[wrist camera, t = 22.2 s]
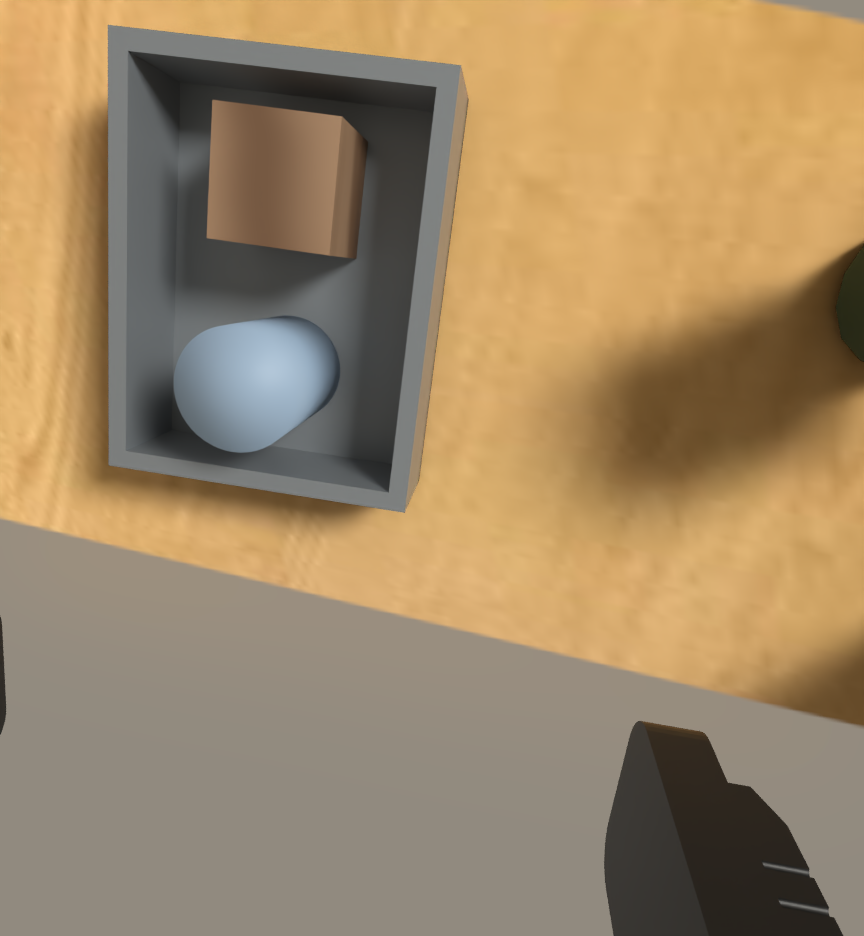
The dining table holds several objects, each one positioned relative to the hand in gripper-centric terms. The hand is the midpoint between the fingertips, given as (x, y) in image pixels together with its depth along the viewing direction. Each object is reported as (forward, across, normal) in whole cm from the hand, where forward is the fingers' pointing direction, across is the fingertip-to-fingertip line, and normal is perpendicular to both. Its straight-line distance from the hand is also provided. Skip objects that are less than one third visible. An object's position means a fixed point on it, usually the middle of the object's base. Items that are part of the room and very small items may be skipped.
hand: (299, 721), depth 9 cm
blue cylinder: (+26, +8, 0) cm, 27 cm away
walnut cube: (+26, +8, -8) cm, 28 cm away
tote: (+26, +8, -4) cm, 28 cm away
